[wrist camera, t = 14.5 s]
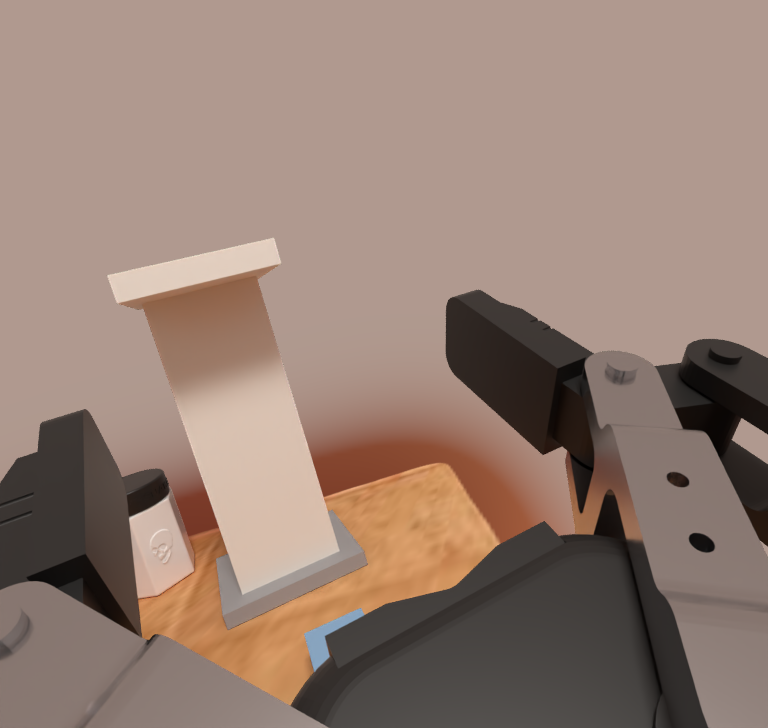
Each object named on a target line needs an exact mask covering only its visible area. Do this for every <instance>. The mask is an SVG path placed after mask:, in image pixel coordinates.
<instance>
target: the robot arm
mask: <svg viewBox="0 0 768 728" xmlns="http://www.w3.org/2000/svg"><path fill="white" fill-rule="evenodd" d="M446 358H447V361H448V364H449V367H450V369H451V370H452V372H453V373H454V375H455V376H456V377H457V378H459V379H460V380H461V381H462V382H463V383H464V384H465V385H466V386H467V387H468V388H470V389H471V390H472V391H473V392H474V393H475V394H476V395H477V396H478V397H479V398H481V399H482V400H483V401H484V402H485V403H486V404H487V405H488V406H489V407H491V408H492V409H493V410H494V411H495V412H496V413H497V414H498V415H499V416H501V417H502V418H503V419H504V420H505V421H506V422H507V423H508V424H509V425H510V426H512V427H513V428H514V429H515V430H516V431H517V432H518V433H519V434H520V435H521V436H523V437H524V438H525V439H526V440H527V441H528V442H529V443H530V444H531V445H532V446H534V447H535V448H536V449H537V450H538V451H539V452H540V453H541V454H543V455H544V454H546V453H548V452H551V451H553V450H555V449H557V448H559V447H562V446H563V447H564V448H565V449H566V450H567V454H566V459H565V464H566V471H567V478H568V484H569V491H570V498H571V504H572V511H573V518H574V524H575V534H572V535H561V536H558V535H557V534H556V533H555V532H554V531H553V529H552V528H551V527H550V526H549V525H548V524H547V523H546V522H545V521H544V522H542V523H540V524H538V525H536V526H534V527H532V528H530V529H528V530H526V531H524V532H522V533H521V534H519V535H517V536H515V537H513V538H511V539H509V540H507V541H505V542H503V543H501V544H499V545H498V546H496V547H495V548H494V549H493V550H492V551H491V552H490V553H489V554H488V555H487V556H486V557H485V558H484V559H483V560H482V561H481V562H480V563H479V564H478V565H477V566H476V567H475V568H474V569H473V570H472V571H471V572H470V573H469V574H467V575H466V576H465V577H464V578H463V579H462V580H461V581H460V582H459V583H458V584H457V585H456V586H454V587H452V588H450V589H447V590H443V591H439V592H434V593H430V594H426V595H422V596H417V597H413V598H409V599H405V600H401V601H396V602H392V603H388V604H385V605H383V606H381V607H379V608H377V609H375V610H373V611H372V612H370V613H368V614H366V615H364V616H362V617H360V618H358V619H356V620H354V621H353V622H351V623H349V624H347V625H345V626H343V627H341V628H339V629H337V630H335V631H333V632H332V633H330V634H328V635H326V636H325V640H326V644H327V648H328V652H329V656H330V657H329V658H328V659H327V660H326V661H325V662H324V663H322V664H321V665H320V666H319V667H318V668H317V670H316V671H315V672H314V673H313V674H312V675H311V677H310V678H309V679H308V680H307V681H306V682H305V684H304V685H303V687H302V688H301V690H300V691H299V693H298V694H297V696H296V697H295V699H294V700H293V702H292V704H291V706H289V705H288V704H286V703H284V702H282V701H281V700H279V699H277V698H275V697H273V696H272V695H270V694H268V693H266V692H265V691H263V690H261V689H259V688H257V687H256V686H254V685H252V684H250V683H249V682H247V681H245V680H243V679H242V678H240V677H238V676H236V675H234V674H233V673H231V672H229V671H227V670H226V669H224V668H222V667H220V666H218V665H217V664H215V663H213V662H211V661H210V660H208V659H206V658H204V657H202V656H201V655H199V654H197V653H195V652H194V651H192V650H190V649H188V648H187V647H185V646H183V645H181V644H179V643H178V642H176V641H174V640H172V639H170V638H168V637H166V636H163V635H158V634H155V635H153V636H152V637H151V639H150V640H146V639H143V638H142V633H141V623H140V614H139V605H138V596H137V587H136V577H135V568H134V559H133V550H132V540H131V531H130V522H129V513H128V503H127V495H126V490H125V486H124V482H123V479H122V477H121V474H120V471H119V469H118V466H117V464H116V463H115V461H114V459H113V457H112V455H111V453H110V451H109V449H108V447H107V445H106V443H105V441H104V439H103V437H102V435H101V433H100V431H99V429H98V427H97V426H96V424H95V422H94V420H93V418H92V416H91V414H90V413H89V412H88V411H87V410H86V409H84V410H81V411H77V412H74V413H71V414H67V415H64V416H61V417H57V418H54V419H51V420H48V421H44V422H42V423H41V424H40V431H39V442H38V452H36V453H33V454H30V455H27V456H24V457H20V458H18V459H17V460H16V461H15V463H14V464H13V466H12V467H11V468H10V470H9V471H8V473H7V474H6V475H5V477H4V478H3V480H2V481H1V483H0V728H768V557H767V555H766V553H765V551H764V548H763V546H762V544H761V542H760V541H762V542H763V543H764V544H765V545H767V546H768V464H766V463H765V462H763V461H762V460H760V459H759V458H757V457H756V456H755V455H753V454H751V453H750V452H749V451H747V450H746V449H744V448H743V447H741V446H740V445H738V444H736V443H735V442H734V441H732V438H733V435H734V433H735V431H736V429H737V427H738V424H739V422H740V420H741V418H743V419H744V420H746V421H747V422H749V423H751V424H752V425H754V426H756V427H757V428H759V429H760V430H762V431H764V432H765V433H767V434H768V358H766V357H764V356H762V355H760V354H758V353H757V352H755V351H753V350H750V349H749V348H746V347H744V346H742V345H739V344H736V343H733V342H729V341H725V340H718V339H702V340H697V341H694V342H692V343H690V344H689V345H688V346H687V348H686V351H685V354H684V357H683V360H682V363H677V364H669V365H661V366H653V365H652V364H651V363H650V362H649V361H647V360H645V359H644V358H641V357H639V356H637V355H634V354H630V353H626V352H621V351H604V352H599V353H596V354H594V353H592V352H590V351H589V350H587V349H585V348H584V347H582V346H581V345H579V344H578V343H576V342H574V341H572V340H571V339H569V338H568V337H566V336H565V335H563V334H561V333H560V332H558V331H556V330H555V329H551V328H550V326H548V325H547V324H545V323H544V322H542V321H538V319H537V318H536V317H534V316H532V315H531V314H529V313H528V312H526V311H524V310H523V309H520V308H517V307H514V306H511V305H507V304H504V303H500V302H499V301H497V300H495V299H494V298H492V297H491V296H489V295H488V294H486V293H484V292H483V291H481V290H475V291H471V292H468V293H465V294H462V295H458V296H455V297H452V298H450V299H449V300H448V303H447V306H446Z"/></svg>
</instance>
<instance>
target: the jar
mask: <svg viewBox="0 0 768 728" xmlns="http://www.w3.org/2000/svg"><path fill="white" fill-rule="evenodd" d="M122 479H123V482H124V486H125V490H126V495H127V503H128V513H129V522H130V531H131V540H132V550H133V559H134V568H135V577H136V587H137V596H138V599H140V598H147V597H154V596H159V595H160V594H162V593H163V592H165V591H166V590H168V589H169V588H171V587H172V586H174V585H175V584H177V583H178V582H179V581H181V580H182V579H184V578H185V577H187V576H188V575H190V574H191V573H193V572H194V552H193V549H192V546H191V543H190V540H189V538H188V535H187V532H186V529H185V527H184V524H183V521H182V518H181V515H180V512H179V510H178V507H177V504H176V501H175V498H174V496H173V493H172V490H171V488H170V487H169V485H168V484H169V483H168V481H167V478H166V477H165V474H164V471H163V470H161V469H149V470H144V471H140V472H137V473H134V474H131V475H128V476H125V477H122Z"/></svg>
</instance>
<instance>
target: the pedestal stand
mask: <svg viewBox="0 0 768 728" xmlns="http://www.w3.org/2000/svg"><path fill="white" fill-rule="evenodd" d="M280 264H281V260H280V257H279V254H278V250H277V247H276V243H275V240H274V238H271V239H267V240H263V241H259V242H254V243H249V244H245V245H240V246H236V247H231V248H227V249H222V250H218V251H214V252H209V253H205V254H201V255H196V256H191V257H187V258H182V259H178V260H174V261H169V262H165V263H160V264H156V265H152V266H147V267H143V268H138V269H134V270H129V271H125V272H120V273H116V274H111V275H108V279H109V282H110V285H111V288H112V291H113V293H114V296H115V299H116V302H117V303H118V304H121V305H124V306H127V307H131V308H134V309H137V310H139V309H144V312H145V315H146V317H147V320H148V323H149V326H150V329H151V332H152V335H153V337H154V341H155V343H156V346H157V349H158V352H159V355H160V358H161V361H162V363H163V366H164V369H165V372H166V375H167V378H168V380H169V384H170V387H171V390H172V393H173V396H174V398H175V401H176V404H177V407H178V410H179V413H180V416H181V418H182V422H183V424H184V427H185V430H186V433H187V436H188V438H189V441H190V444H191V448H192V450H193V453H194V456H195V459H196V462H197V465H198V468H199V470H200V474H201V476H202V479H203V482H204V485H205V488H206V491H207V494H208V497H209V500H210V503H211V505H212V508H213V511H214V514H215V517H216V520H217V523H218V525H219V529H220V531H221V534H222V537H223V540H224V543H225V546H226V549H227V552H228V554H226V555H224V556H221V557H219V558H217V559H216V562H217V571H218V579H219V588H220V597H221V605H222V614H223V618H224V621H225V623H226V626H227V629H228V630H229V629H231V628H233V627H235V626H237V625H239V624H242V623H244V622H246V621H248V620H250V619H252V618H254V617H257V616H259V615H261V614H263V613H265V612H267V611H269V610H271V609H274V608H276V607H278V606H280V605H282V604H284V603H286V602H289V601H291V600H293V599H295V598H297V597H299V596H301V595H303V594H306V593H308V592H310V591H312V590H314V589H316V588H318V587H321V586H323V585H325V584H327V583H329V582H331V581H333V580H336V579H338V578H340V577H342V576H344V575H346V574H348V573H350V572H353V571H355V570H357V569H359V568H361V567H363V566H365V565H368V563H367V560H366V556H365V553H364V550H363V549H362V548H361V547H360V545H359V544H358V543H357V541H356V540H355V539H354V538H353V536H352V535H351V534H350V532H349V531H348V530H347V528H346V527H345V526H344V525H343V523H342V522H341V521H340V519H339V518H338V517H337V516H336V514H335V513H334V512H333V510H331V511H327V508H326V504H325V501H324V498H323V495H322V491H321V488H320V485H319V481H318V478H317V475H316V471H315V468H314V465H313V461H312V458H311V455H310V452H309V448H308V445H307V442H306V438H305V435H304V432H303V428H302V426H301V422H300V419H299V415H298V412H297V409H296V405H295V402H294V399H293V396H292V392H291V389H290V386H289V383H288V379H287V376H286V373H285V369H284V366H283V363H282V359H281V356H280V353H279V349H278V346H277V343H276V339H275V336H274V333H273V330H272V326H271V323H270V320H269V316H268V313H267V310H266V306H265V303H264V300H263V297H262V293H261V290H260V287H259V283H258V280H257V279H259V278H260V277H262V276H263V275H265V274H266V273H268V272H269V271H271V270H272V269H274V268H275V267H277V266H278V265H280Z"/></svg>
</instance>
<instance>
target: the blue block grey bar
mask: <svg viewBox="0 0 768 728" xmlns="http://www.w3.org/2000/svg"><path fill="white" fill-rule="evenodd" d="M362 616H364V613H363V611H362V609H361V608H360V609H357V610H355V611H353V612H351V613H349V614H346V615H344V616H342V617H340V618H338V619H335V620H333V621H331V622H329V623H327V624H324V625H322V626H320V627H318V628H316V629H313V630H311V631H309V632H307V633H305V634H304V635H305V638H306V642H307V646H308V650H309V654H310V657H311V661H312V665H313V669H314V672H315V671H316V670H317V668H318V667H319V666H320V665H321V664H322V663H324V662H325V661H326V660H327V659H328V658H329V657H330V656H329V652H328V648H327V644H326V640H325V636H326V635H328V634H330V633H332V632H333V631H335V630H337V629H339V628H341V627H343V626H345V625H347V624H349V623H351V622H353V621H354V620H356V619H358V618H360V617H362Z"/></svg>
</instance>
